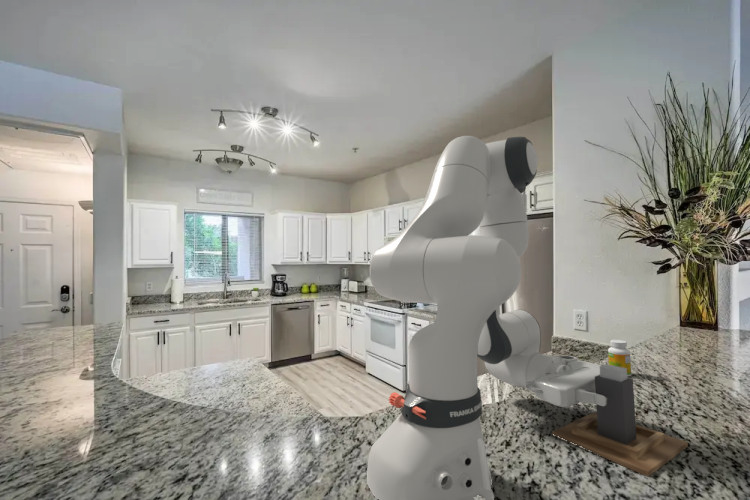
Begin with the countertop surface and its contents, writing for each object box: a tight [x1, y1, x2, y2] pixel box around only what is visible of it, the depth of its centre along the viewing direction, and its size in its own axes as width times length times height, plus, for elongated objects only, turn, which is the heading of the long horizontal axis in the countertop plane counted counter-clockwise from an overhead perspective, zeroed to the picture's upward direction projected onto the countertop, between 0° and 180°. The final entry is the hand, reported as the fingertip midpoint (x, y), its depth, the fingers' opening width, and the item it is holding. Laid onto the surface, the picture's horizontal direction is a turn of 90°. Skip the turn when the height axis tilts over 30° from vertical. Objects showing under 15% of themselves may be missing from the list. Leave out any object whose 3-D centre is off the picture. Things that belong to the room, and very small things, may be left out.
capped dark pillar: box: [595, 363, 637, 445], centre depth 67 cm, size 4×5×13 cm
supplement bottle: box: [607, 339, 632, 378], centre depth 104 cm, size 5×5×10 cm
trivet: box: [551, 411, 689, 477], centre depth 66 cm, size 16×16×2 cm
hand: (619, 395), depth 66 cm, fingers open, 8 cm apart
